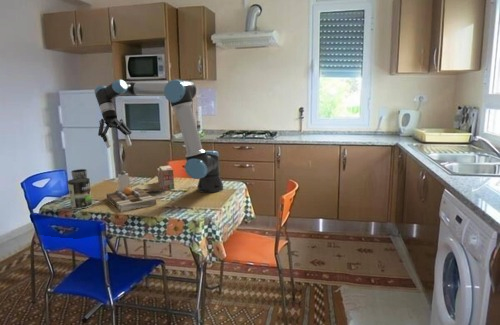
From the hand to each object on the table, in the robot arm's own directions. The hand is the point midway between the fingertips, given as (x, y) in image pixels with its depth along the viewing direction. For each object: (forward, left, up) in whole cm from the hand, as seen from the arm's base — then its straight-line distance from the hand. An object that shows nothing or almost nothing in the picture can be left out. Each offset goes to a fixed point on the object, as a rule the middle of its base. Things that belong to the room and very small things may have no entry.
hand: (119, 146), depth 206 cm
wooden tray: (-10, +14, -28) cm, 33 cm away
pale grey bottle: (-3, +6, -25) cm, 26 cm away
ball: (-7, +10, -23) cm, 26 cm away
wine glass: (+24, +3, -28) cm, 37 cm away
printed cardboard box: (-18, -20, -28) cm, 39 cm away
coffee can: (+14, +21, -28) cm, 38 cm away
